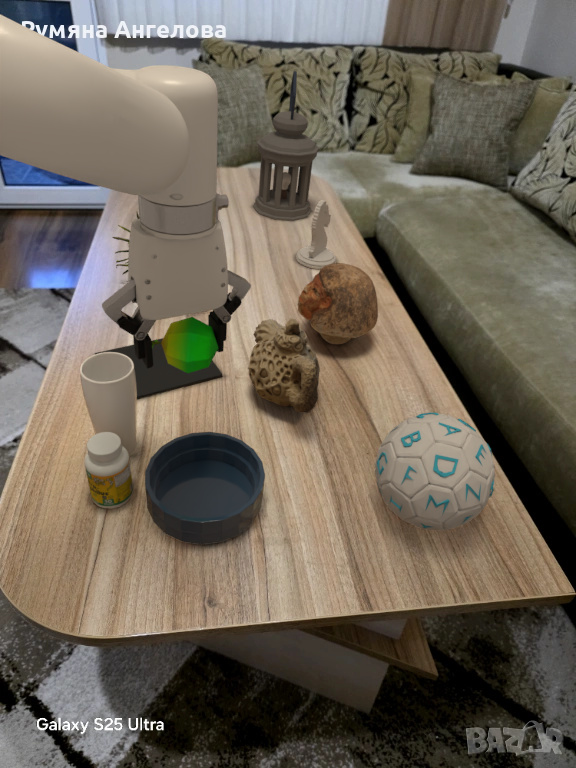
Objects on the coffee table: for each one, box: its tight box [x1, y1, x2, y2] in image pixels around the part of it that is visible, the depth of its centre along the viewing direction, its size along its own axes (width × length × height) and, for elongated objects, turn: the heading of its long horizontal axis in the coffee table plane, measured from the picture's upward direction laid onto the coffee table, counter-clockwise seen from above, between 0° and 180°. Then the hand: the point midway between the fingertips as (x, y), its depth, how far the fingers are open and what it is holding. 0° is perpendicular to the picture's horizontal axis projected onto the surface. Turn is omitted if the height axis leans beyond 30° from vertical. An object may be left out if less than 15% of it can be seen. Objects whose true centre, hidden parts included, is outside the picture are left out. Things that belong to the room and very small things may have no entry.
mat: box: [94, 337, 223, 400], centre depth 94 cm, size 18×14×1 cm
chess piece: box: [295, 199, 337, 270], centre depth 128 cm, size 10×10×15 cm
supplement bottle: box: [83, 432, 134, 509], centre depth 69 cm, size 5×5×10 cm
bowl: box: [144, 431, 266, 545], centre depth 72 cm, size 15×15×5 cm
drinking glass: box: [79, 352, 138, 458], centre depth 74 cm, size 7×7×15 cm
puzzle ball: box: [374, 411, 496, 532], centre depth 71 cm, size 15×15×15 cm
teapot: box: [247, 318, 321, 414], centre depth 86 cm, size 21×12×15 cm, turn 22°
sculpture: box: [297, 262, 379, 345], centre depth 102 cm, size 15×16×15 cm
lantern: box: [252, 70, 320, 222], centre depth 145 cm, size 17×17×35 cm
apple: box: [151, 316, 218, 373], centre depth 64 cm, size 7×6×9 cm
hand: (181, 352), depth 65 cm, fingers closed on apple, 8 cm apart
